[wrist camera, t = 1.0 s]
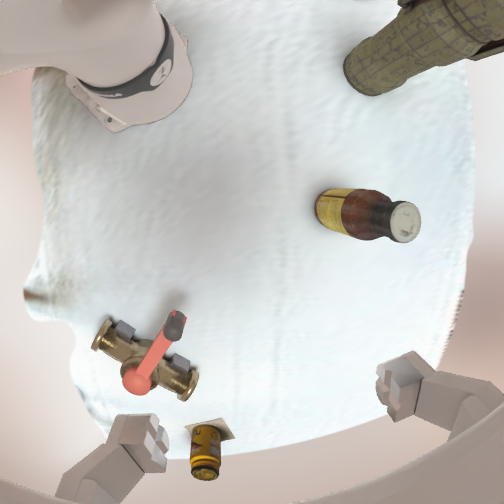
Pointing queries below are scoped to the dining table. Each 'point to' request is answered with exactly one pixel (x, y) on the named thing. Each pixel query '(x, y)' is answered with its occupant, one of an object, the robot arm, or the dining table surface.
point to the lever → (154, 355)
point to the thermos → (425, 42)
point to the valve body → (132, 354)
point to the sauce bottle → (368, 215)
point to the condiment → (207, 448)
